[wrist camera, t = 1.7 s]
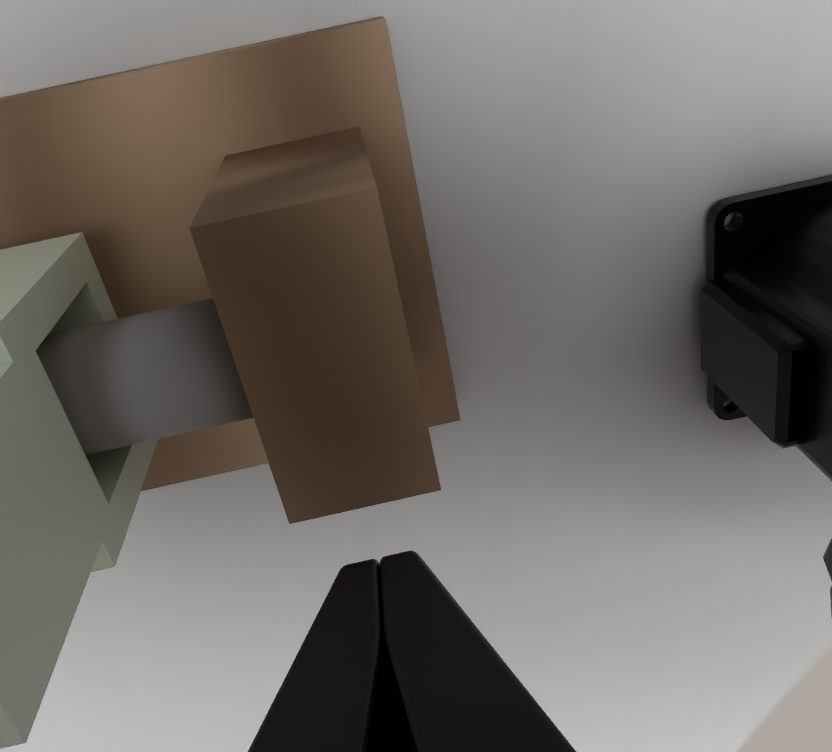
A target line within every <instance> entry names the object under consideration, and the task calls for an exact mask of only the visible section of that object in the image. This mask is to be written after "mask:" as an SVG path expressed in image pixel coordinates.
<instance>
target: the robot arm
mask: <svg viewBox="0 0 832 752" xmlns="http://www.w3.org/2000/svg"><path fill="white" fill-rule="evenodd" d="M732 212H735V214H736V217H735V220H734V221H733V223H732V224H731V225H729V226H727V227H724V220H725V218H726V217H727V216H728V214H730V213H732ZM700 332H701V369H702V371H703V372H704V373H705V374H706V375H707V376H708V405H709V408H710V409H711V410H712V411H713V412H714V413H715V415H716V416H717V417H718V418H720V419H723V420H732V419H737V418H741V417H746V416H748V417H749V419H750V420H751V421H752V422H753V423H754V424H755V425H756V426H757V427H758V428H759V429H760V430H761V431H762V432H763V433H764V434H765V435H766V436H767V437H768V438H769V439H770V440H771V441H772V442H774V443H775V444H777V445H778V446H780V447H782V448H788V447H792V446H797V447H798V448H799V449H800V450H801V451H802V452H803V453H804V454H805V455H806V456H807V457H808V458H809V459H810V460H811V461H812V462H813V463H814V464H815V465H816V466H817V467H818V468H819V469H820V470H821V471H822V472H823V473H824V474H825V475H826V476H827V477H828V478H829V479H830V480H831V481H832V175H831V176H826V177H822V178H817V179H813V180H808V181H804V182H799V183H794V184H790V185H785V186H781V187H776V188H772V189H767V190H763V191H758V192H753V193H749V194H744V195H740V196H735V197H731V198H726V199H724V200H721V201H719V202H718V203H717V204H716V205H714V206H713V207H712V209H711V211H710V213H709V215H708V220H707V281H706V283H705V284H704V286H703V287H702V289H701V291H700ZM729 398H730V399H731V400H732V401H731V402H730V403H729V404H728V405H725V406H723V403H724V402H725V401H726V400H727V399H729ZM823 559H824V562H825V564H826V567H827V570H828V572H829V575H830V577H831V580H832V539H831V541H830V543H829V545H828V547H827V549H826V552H825V554H824V556H823ZM830 597H831V615H832V586H831V588H830ZM248 752H576V751H575V749H574V748H573V747H572V746H571V744H570V743H569V742H568V741H567V739H566V738H565V737H564V736H563V734H562V733H561V732H560V731H559V730H558V728H557V727H556V726H555V725H554V723H553V722H552V721H551V720H550V718H549V717H548V716H547V715H546V713H545V712H544V711H543V710H542V708H541V707H540V706H539V705H538V703H537V702H536V701H535V700H534V698H533V697H532V696H531V695H530V693H529V692H528V691H527V690H526V688H525V687H524V686H523V685H522V683H521V682H520V681H519V680H518V678H517V677H516V676H515V675H514V673H513V672H512V671H511V670H510V668H509V667H508V666H507V665H506V663H505V662H504V661H503V660H502V658H501V657H500V656H499V655H498V653H497V652H496V651H495V650H494V648H493V647H492V646H491V645H490V643H489V642H488V641H487V640H486V638H485V637H484V636H483V635H482V633H481V632H480V631H479V630H478V628H477V627H476V626H475V625H474V623H473V622H472V621H471V620H470V618H469V617H468V616H467V615H466V613H465V612H464V611H463V610H462V608H461V607H460V606H459V605H458V603H457V602H456V601H455V600H454V598H453V597H452V596H451V595H450V593H449V592H448V591H447V590H446V588H445V587H444V586H443V585H442V583H441V582H440V581H439V580H438V578H437V577H436V576H435V575H434V573H433V572H432V571H431V570H430V568H429V567H428V566H427V565H426V563H425V562H424V561H423V560H422V558H421V557H420V556H419V555H418V554H417V553H416V552H414V551H407V552H402V553H398V554H393V555H389V556H385V557H383V558H382V559H381V561H380V564H379V562H378V561H377V560H374V559H371V560H366V561H362V562H357V563H353V564H348V565H345V566H343V567H342V568H341V569H340V571H339V573H338V575H337V577H336V579H335V581H334V583H333V585H332V587H331V589H330V591H329V593H328V595H327V597H326V599H325V601H324V603H323V605H322V607H321V608H320V610H319V612H318V614H317V616H316V618H315V620H314V622H313V624H312V626H311V628H310V630H309V632H308V634H307V636H306V638H305V640H304V642H303V644H302V646H301V648H300V650H299V652H298V654H297V656H296V658H295V660H294V662H293V664H292V666H291V668H290V670H289V672H288V674H287V676H286V678H285V679H284V681H283V683H282V685H281V687H280V689H279V691H278V693H277V695H276V697H275V699H274V701H273V703H272V705H271V707H270V709H269V711H268V713H267V715H266V717H265V719H264V721H263V723H262V725H261V727H260V729H259V731H258V733H257V735H256V737H255V739H254V741H253V743H252V745H251V747H250V749H249V751H248Z"/></svg>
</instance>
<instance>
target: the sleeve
mask: <svg viewBox="0 0 832 752" xmlns="http://www.w3.org/2000/svg"><path fill="white" fill-rule="evenodd" d="M115 319H118V318H117V316H116V313H115V311H114V308H113V306H112V303H111V301H110V299H109V296H108V294H107V291H106V289H105V286H104V284H103V282H102V279H101V277H100V274H99V272H98V269H97V267H96V264H95V262H94V260H93V257H92V255H91V252H90V250H89V247H88V245H87V242H86V240H85V238H84V235H83V233H82V232H80V233H75V234H71V235H66V236H62V237H57V238H52V239H48V240H43V241H38V242H34V243H29V244H25V245H20V246H15V247H11V248H6V249H2V250H0V748H5V747H9V746H14V745H18V744H23V743H26V741H27V739H28V736H29V733H30V731H31V728H32V725H33V723H34V720H35V717H36V715H37V712H38V709H39V707H40V704H41V702H42V699H43V696H44V694H45V691H46V688H47V686H48V683H49V680H50V678H51V675H52V672H53V670H54V667H55V664H56V662H57V659H58V657H59V654H60V651H61V649H62V646H63V643H64V641H65V638H66V635H67V633H68V630H69V627H70V625H71V622H72V620H73V617H74V614H75V612H76V609H77V606H78V604H79V601H80V598H81V596H82V593H83V590H84V588H85V585H86V582H87V580H88V577H89V575H90V572H93V571H97V570H102V569H106V568H111V567H115V565H116V562H117V559H118V556H119V553H120V550H121V547H122V544H123V541H124V538H125V535H126V532H127V529H128V526H129V523H130V520H131V518H132V515H133V512H134V509H135V506H136V503H137V500H138V497H139V494H140V491H141V488H142V485H143V482H144V479H145V476H146V473H147V470H148V468H149V465H150V462H151V459H152V456H153V453H154V450H155V447H156V444H157V441H158V439H156V440H151V441H146V442H142V443H137V444H133V445H128V446H124V447H119V448H115V449H110V450H106V451H101V452H97V453H92V454H88V455H85V453H84V451H83V449H82V447H81V445H80V443H79V441H78V439H77V437H76V435H75V433H74V430H73V428H72V426H71V424H70V422H69V420H68V418H67V416H66V414H65V412H64V409H63V407H62V405H61V403H60V401H59V399H58V397H57V395H56V393H55V391H54V389H53V386H52V384H51V382H50V380H49V378H48V376H47V374H46V372H45V370H44V368H43V365H42V363H41V361H40V359H39V357H38V355H37V353H36V349H37V348H38V347H39V345H40V344H41V343H42V341H43V340H44V339H45V337H46V336H47V335H48V334H51V333H55V332H60V331H64V330H69V329H73V328H78V327H83V326H87V325H92V324H96V323H101V322H105V321H110V320H115Z"/></svg>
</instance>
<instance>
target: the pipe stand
mask: <svg viewBox="0 0 832 752" xmlns="http://www.w3.org/2000/svg"><path fill="white" fill-rule="evenodd" d="M80 232H82V233H83V235H84V238H85V240H86V242H87V245H88V247H89V250H90V252H91V255H92V257H93V260H94V262H95V264H96V267H97V269H98V272H99V274H100V277H101V279H102V282H103V284H104V286H105V289H106V291H107V294H108V296H109V299H110V301H111V303H112V306H113V308H114V311H115V313H116V316H117V318H118V319H115V320H110V321H105V322H101V323H96V324H92V325H87V326H83V327H78V328H73V329H69V330H64V331H60V332H55V333H51V334H48V335H47V336H46V337H45V339H44V340H43V341H42V343H41V344H40V345H39V347H38V348H37V349H36V353H37V355H38V357H39V359H40V361H41V363H42V365H43V368H44V370H45V372H46V374H47V376H48V378H49V380H50V382H51V384H52V386H53V389H54V391H55V393H56V395H57V397H58V399H59V401H60V403H61V405H62V407H63V409H64V412H65V414H66V416H67V418H68V420H69V422H70V424H71V426H72V428H73V430H74V433H75V435H76V437H77V439H78V441H79V443H80V445H81V447H82V449H83V451H84V453H85V455H88V454H92V453H97V452H101V451H106V450H110V449H115V448H119V447H124V446H128V445H133V444H137V443H142V442H146V441H151V440H156V439H158V441H157V444H156V447H155V450H154V453H153V456H152V459H151V462H150V465H149V468H148V470H147V473H146V476H145V479H144V482H143V485H142V488H141V491H143V490H148V489H152V488H157V487H161V486H166V485H170V484H175V483H179V482H184V481H188V480H193V479H197V478H202V477H206V476H211V475H215V474H220V473H224V472H229V471H233V470H238V469H242V468H247V467H251V466H256V465H260V464H265V463H269V465H270V468H271V471H272V474H273V477H274V480H275V482H276V485H277V488H278V491H279V494H280V497H281V500H282V503H283V506H284V509H285V512H286V515H287V518H288V521H289V524H291V523H296V522H300V521H305V520H309V519H314V518H318V517H323V516H327V515H332V514H336V513H340V512H345V511H349V510H354V509H358V508H363V507H367V506H372V505H376V504H381V503H385V502H390V501H394V500H399V499H403V498H408V497H412V496H416V495H421V494H425V493H430V492H434V491H439V490H441V488H440V483H439V478H438V473H437V469H436V464H435V459H434V454H433V450H432V445H431V440H430V436H429V431H428V427H431V426H436V425H440V424H445V423H449V422H454V421H458V420H460V417H459V411H458V406H457V401H456V395H455V390H454V384H453V379H452V374H451V368H450V363H449V358H448V352H447V347H446V342H445V336H444V331H443V325H442V320H441V315H440V309H439V304H438V299H437V293H436V288H435V283H434V277H433V272H432V267H431V261H430V256H429V250H428V245H427V240H426V234H425V229H424V224H423V218H422V213H421V208H420V202H419V197H418V192H417V186H416V181H415V175H414V170H413V165H412V159H411V154H410V149H409V143H408V138H407V133H406V127H405V122H404V117H403V111H402V106H401V100H400V95H399V90H398V84H397V79H396V74H395V68H394V63H393V58H392V52H391V47H390V42H389V36H388V31H387V25H386V20H385V18H383V17H377V18H372V19H368V20H363V21H358V22H353V23H349V24H344V25H339V26H335V27H330V28H325V29H321V30H316V31H311V32H307V33H302V34H297V35H293V36H288V37H283V38H279V39H274V40H269V41H265V42H260V43H255V44H250V45H246V46H241V47H236V48H232V49H227V50H222V51H218V52H213V53H208V54H204V55H199V56H194V57H190V58H185V59H180V60H176V61H171V62H166V63H162V64H157V65H152V66H147V67H143V68H138V69H133V70H129V71H124V72H119V73H115V74H110V75H105V76H101V77H96V78H91V79H87V80H82V81H77V82H73V83H68V84H63V85H59V86H54V87H49V88H44V89H40V90H35V91H30V92H26V93H21V94H16V95H12V96H7V97H2V98H0V250H2V249H6V248H11V247H15V246H20V245H25V244H29V243H34V242H38V241H43V240H48V239H52V238H57V237H62V236H66V235H71V234H75V233H80Z"/></svg>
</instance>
